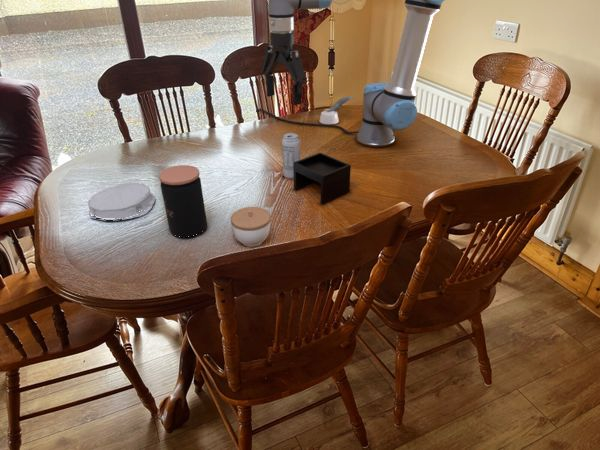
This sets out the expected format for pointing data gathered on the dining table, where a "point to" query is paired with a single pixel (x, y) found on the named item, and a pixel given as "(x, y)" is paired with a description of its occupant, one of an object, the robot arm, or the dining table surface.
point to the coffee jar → (183, 201)
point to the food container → (121, 201)
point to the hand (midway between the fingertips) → (283, 100)
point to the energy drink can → (290, 153)
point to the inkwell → (333, 112)
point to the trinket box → (251, 225)
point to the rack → (323, 176)
